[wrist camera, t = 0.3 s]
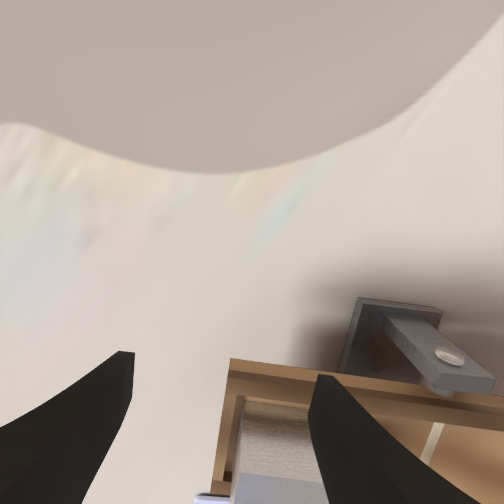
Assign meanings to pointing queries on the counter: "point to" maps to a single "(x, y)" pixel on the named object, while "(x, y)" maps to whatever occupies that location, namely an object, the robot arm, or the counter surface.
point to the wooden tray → (383, 422)
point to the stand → (408, 348)
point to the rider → (275, 458)
